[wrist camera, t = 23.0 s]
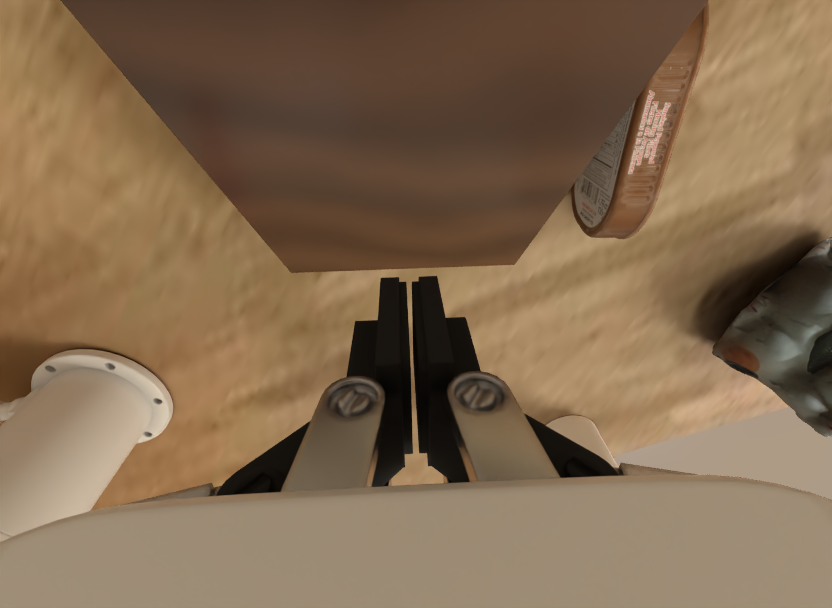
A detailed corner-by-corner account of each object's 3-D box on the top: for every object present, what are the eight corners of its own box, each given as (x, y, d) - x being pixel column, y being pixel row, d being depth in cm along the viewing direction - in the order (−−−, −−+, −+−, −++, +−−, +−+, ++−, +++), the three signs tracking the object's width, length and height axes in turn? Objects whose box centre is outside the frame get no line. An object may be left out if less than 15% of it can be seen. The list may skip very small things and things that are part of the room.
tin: (593, 216, 33) (648, 258, 26) (556, 217, 33) (601, 260, 26) (646, -12, 25) (748, -43, 18) (598, -11, 25) (680, -43, 18)
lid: (56, -34, 9) (49, -11, 9) (716, -41, 9) (723, -19, 9) (291, 263, 26) (291, 273, 26) (513, 255, 27) (514, 264, 27)
